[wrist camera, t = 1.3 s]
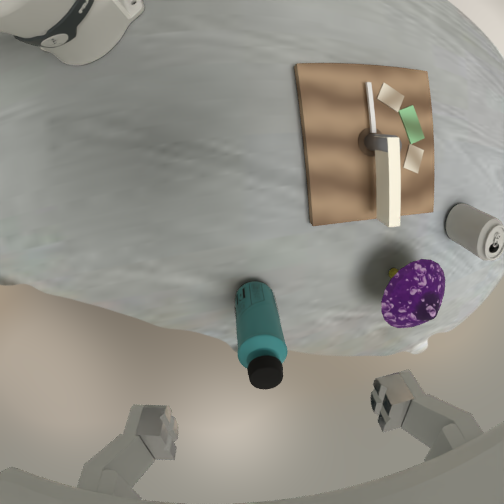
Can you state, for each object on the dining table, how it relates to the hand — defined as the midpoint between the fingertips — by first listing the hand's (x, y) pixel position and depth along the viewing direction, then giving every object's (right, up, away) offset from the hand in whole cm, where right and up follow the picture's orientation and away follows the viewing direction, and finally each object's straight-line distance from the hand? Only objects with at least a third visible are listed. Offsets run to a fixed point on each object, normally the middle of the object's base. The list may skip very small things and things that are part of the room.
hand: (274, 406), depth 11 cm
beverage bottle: (-1, -1, +40) cm, 40 cm away
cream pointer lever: (+17, +21, +30) cm, 40 cm away
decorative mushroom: (+24, +3, +41) cm, 47 cm away
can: (+38, +12, +38) cm, 55 cm away
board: (+17, +23, +32) cm, 42 cm away
